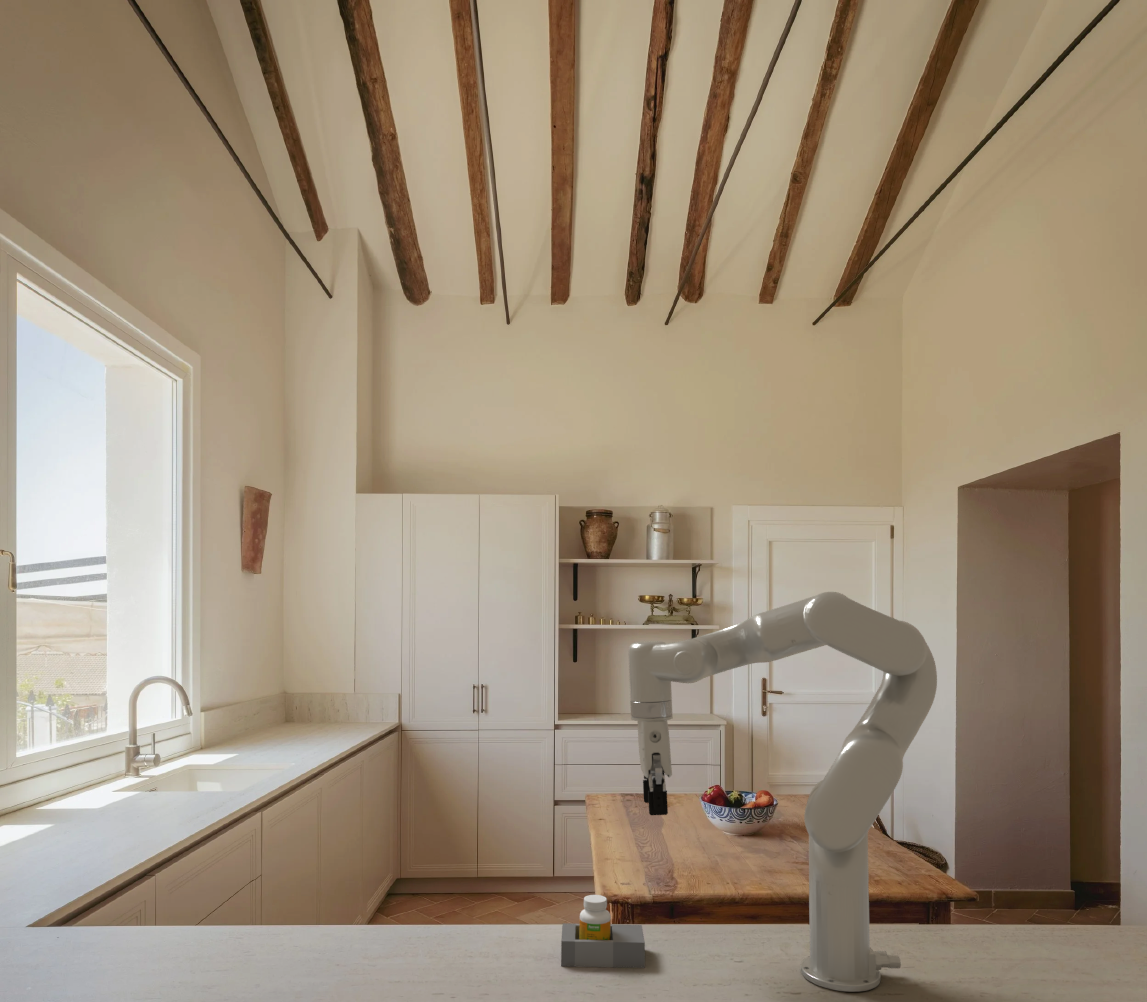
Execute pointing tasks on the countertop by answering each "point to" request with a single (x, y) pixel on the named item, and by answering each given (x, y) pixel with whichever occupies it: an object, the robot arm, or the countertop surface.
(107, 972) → the countertop surface
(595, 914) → the supplement bottle
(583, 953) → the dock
